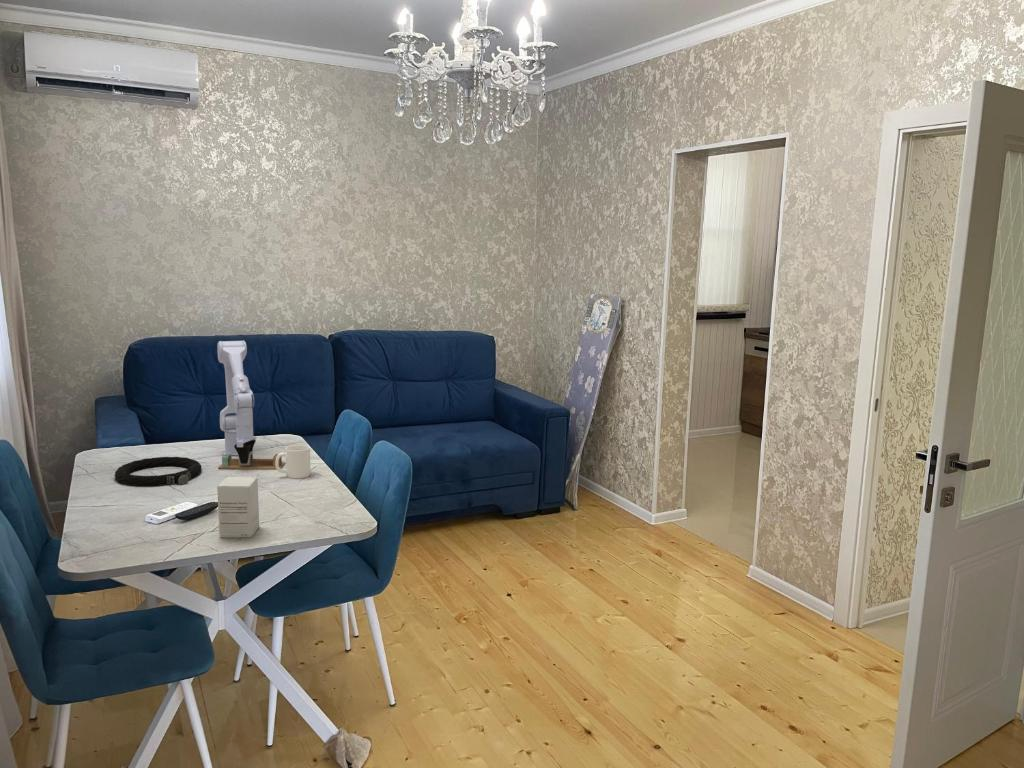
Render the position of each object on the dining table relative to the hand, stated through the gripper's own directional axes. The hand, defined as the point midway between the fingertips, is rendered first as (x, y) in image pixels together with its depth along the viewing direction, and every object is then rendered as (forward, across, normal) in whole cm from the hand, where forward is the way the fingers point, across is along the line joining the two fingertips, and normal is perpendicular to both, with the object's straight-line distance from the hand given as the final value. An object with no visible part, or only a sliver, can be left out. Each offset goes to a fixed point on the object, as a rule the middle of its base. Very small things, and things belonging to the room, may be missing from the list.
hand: (245, 461), depth 275 cm
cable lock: (+2, -12, +26) cm, 28 cm away
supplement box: (+2, -66, -15) cm, 68 cm away
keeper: (+2, 0, 0) cm, 2 cm away
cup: (+2, -12, -19) cm, 23 cm away
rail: (+2, 0, -2) cm, 3 cm away
